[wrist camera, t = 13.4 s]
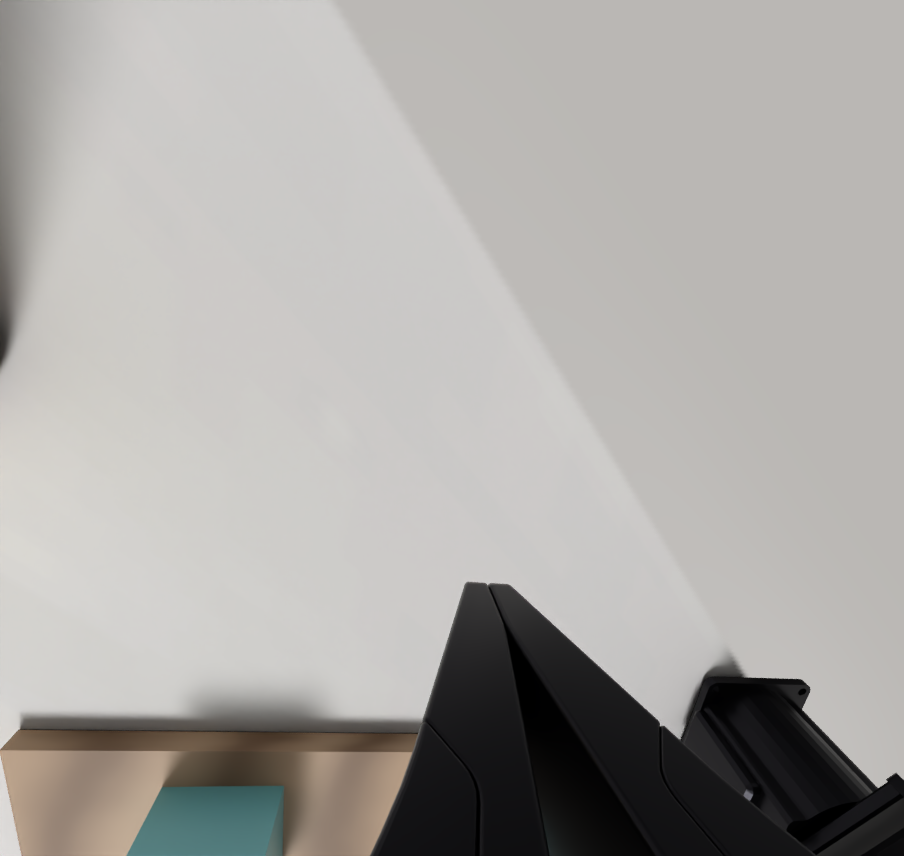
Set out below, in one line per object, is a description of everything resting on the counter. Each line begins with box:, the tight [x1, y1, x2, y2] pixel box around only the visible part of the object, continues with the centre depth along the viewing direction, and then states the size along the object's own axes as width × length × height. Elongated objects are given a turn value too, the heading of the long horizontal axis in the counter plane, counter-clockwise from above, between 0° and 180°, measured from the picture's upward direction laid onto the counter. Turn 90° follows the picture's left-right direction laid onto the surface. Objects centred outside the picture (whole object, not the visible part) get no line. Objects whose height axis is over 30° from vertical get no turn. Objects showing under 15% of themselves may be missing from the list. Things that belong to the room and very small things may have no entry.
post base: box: [0, 730, 418, 856], centre depth 22 cm, size 20×11×4 cm, turn 83°
